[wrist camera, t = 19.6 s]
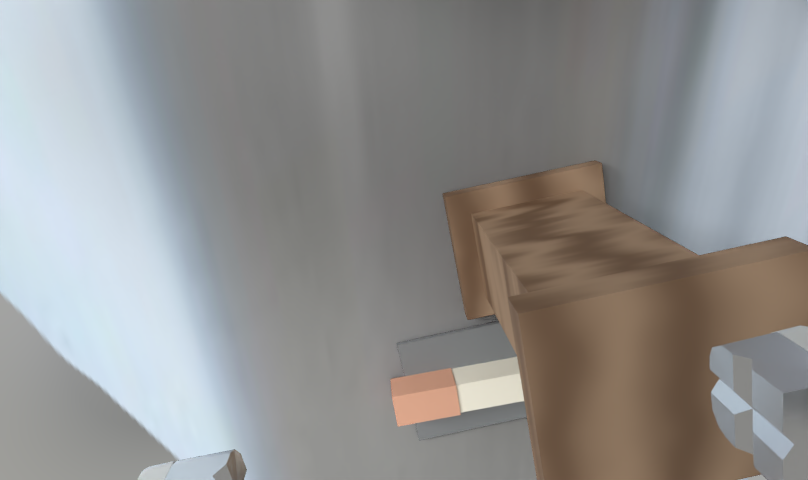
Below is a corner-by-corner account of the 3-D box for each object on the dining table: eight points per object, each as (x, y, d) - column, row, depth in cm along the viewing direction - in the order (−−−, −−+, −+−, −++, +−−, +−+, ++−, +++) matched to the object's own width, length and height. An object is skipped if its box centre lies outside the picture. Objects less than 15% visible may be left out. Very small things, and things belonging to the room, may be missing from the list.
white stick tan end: (396, 406, 56) (397, 426, 53) (390, 379, 55) (392, 397, 52) (632, 363, 56) (647, 380, 53) (631, 334, 55) (646, 350, 52)
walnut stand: (465, 313, 54) (550, 520, 29) (442, 193, 51) (518, 314, 26) (607, 282, 54) (813, 463, 29) (595, 160, 51) (817, 248, 26)
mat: (418, 437, 58) (419, 440, 57) (396, 342, 55) (397, 345, 54) (628, 391, 58) (630, 394, 57) (618, 294, 55) (621, 296, 54)
